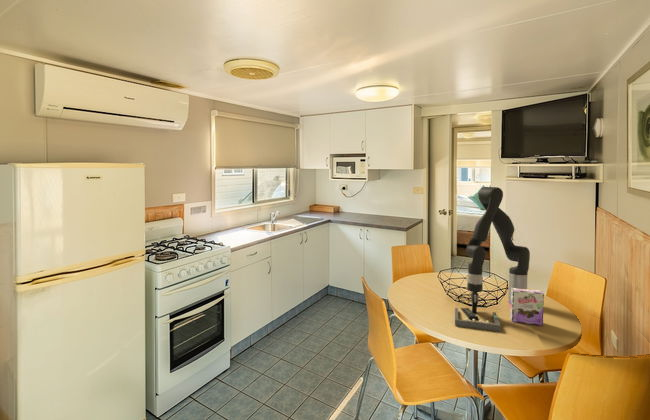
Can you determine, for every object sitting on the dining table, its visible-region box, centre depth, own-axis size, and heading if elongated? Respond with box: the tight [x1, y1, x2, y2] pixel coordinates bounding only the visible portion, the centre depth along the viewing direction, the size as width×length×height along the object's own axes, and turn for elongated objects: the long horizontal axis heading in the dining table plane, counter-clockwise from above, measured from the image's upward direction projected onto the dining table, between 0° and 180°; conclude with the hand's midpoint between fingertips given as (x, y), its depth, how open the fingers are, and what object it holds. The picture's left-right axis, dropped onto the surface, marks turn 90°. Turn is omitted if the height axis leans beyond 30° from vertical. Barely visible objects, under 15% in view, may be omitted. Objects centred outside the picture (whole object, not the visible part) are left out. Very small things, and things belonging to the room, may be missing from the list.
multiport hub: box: [460, 307, 479, 321], centre depth 179 cm, size 4×14×2 cm, turn 176°
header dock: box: [454, 307, 502, 333], centre depth 170 cm, size 20×20×4 cm
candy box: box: [509, 288, 545, 326], centre depth 171 cm, size 14×6×16 cm, turn 68°
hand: (474, 313), depth 181 cm, fingers closed
